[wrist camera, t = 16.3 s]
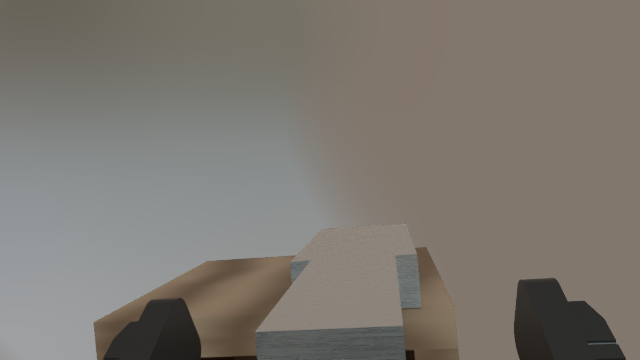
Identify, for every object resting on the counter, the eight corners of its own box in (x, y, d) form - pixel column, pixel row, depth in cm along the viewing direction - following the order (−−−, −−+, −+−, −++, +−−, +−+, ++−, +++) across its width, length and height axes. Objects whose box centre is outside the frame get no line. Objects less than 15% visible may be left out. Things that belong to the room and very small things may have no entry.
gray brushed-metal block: (227, 423, 13) (219, 333, 13) (324, 263, 35) (322, 229, 35) (450, 419, 13) (442, 324, 13) (408, 258, 34) (406, 223, 34)
